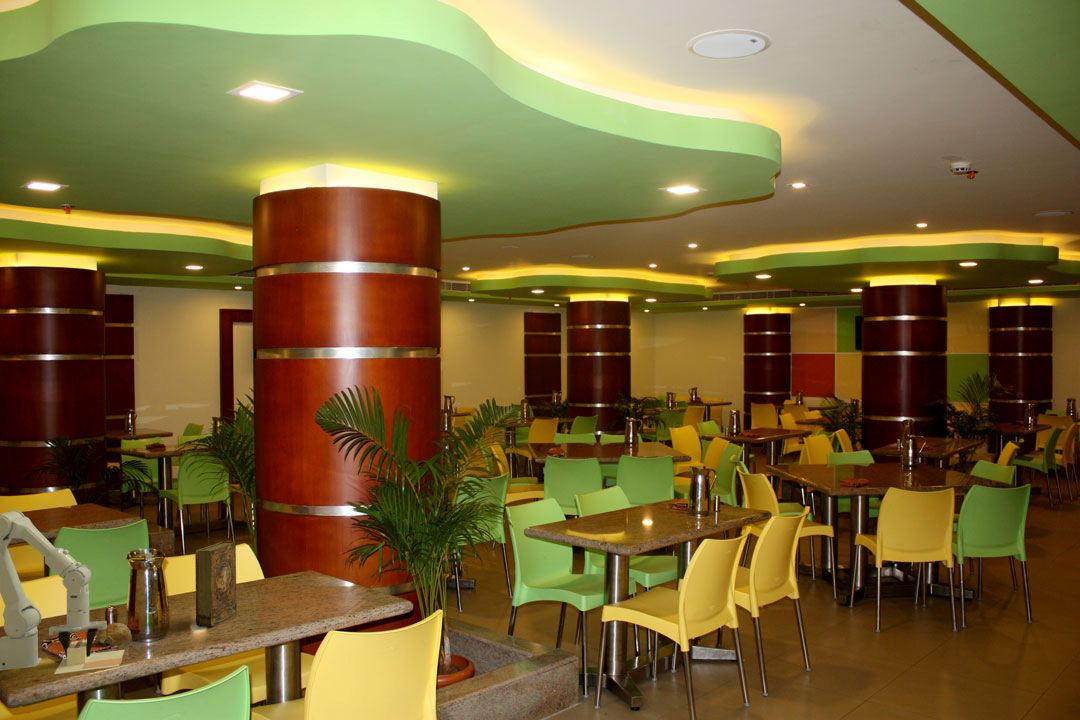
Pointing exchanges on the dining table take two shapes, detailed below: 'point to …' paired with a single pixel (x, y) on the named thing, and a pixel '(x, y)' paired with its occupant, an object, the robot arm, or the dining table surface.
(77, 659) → the card box
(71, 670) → the mat
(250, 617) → the dining table surface
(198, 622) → the book
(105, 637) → the bread roll
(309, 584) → the dining table surface
